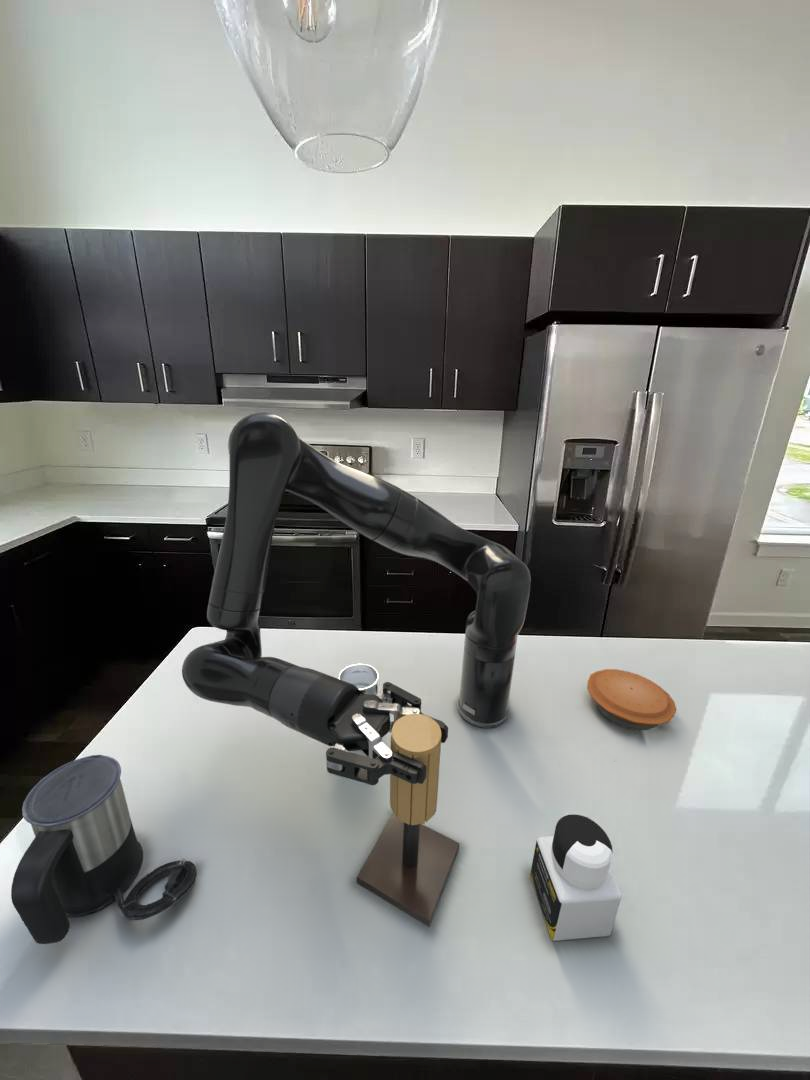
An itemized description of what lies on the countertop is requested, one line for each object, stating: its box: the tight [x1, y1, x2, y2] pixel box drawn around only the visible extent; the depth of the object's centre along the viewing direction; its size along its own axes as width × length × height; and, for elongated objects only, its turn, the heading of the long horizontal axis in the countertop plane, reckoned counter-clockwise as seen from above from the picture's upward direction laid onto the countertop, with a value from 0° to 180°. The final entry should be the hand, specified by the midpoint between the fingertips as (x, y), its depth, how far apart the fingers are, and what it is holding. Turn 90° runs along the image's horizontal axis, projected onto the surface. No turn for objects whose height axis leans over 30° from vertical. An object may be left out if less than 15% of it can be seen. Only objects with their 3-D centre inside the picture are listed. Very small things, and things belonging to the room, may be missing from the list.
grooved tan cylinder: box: [389, 713, 442, 825], centre depth 50 cm, size 6×6×11 cm
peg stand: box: [356, 812, 460, 928], centre depth 53 cm, size 10×10×14 cm
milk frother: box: [10, 754, 198, 945], centre depth 50 cm, size 14×16×15 cm
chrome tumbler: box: [337, 663, 381, 756], centre depth 70 cm, size 7×7×15 cm
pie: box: [586, 668, 677, 731], centre depth 83 cm, size 16×16×5 cm
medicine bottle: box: [529, 813, 623, 942], centre depth 50 cm, size 7×7×12 cm
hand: (436, 753), depth 47 cm, fingers closed on grooved tan cylinder, 5 cm apart
